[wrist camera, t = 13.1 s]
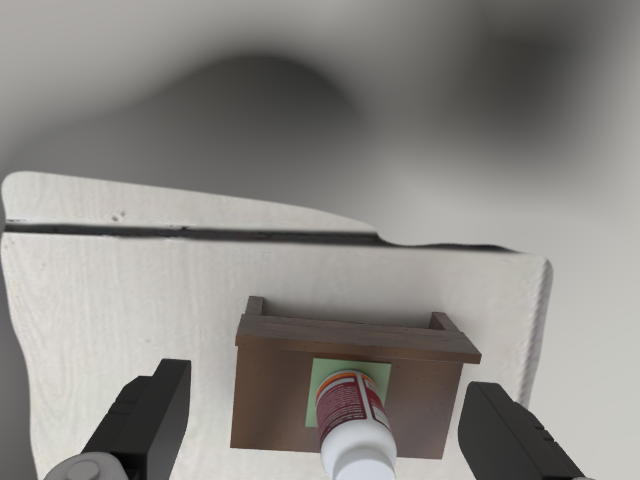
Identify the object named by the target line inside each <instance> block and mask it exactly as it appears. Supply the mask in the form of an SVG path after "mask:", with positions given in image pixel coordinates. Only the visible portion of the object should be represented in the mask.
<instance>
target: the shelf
mask: <svg viewBox="0 0 640 480" xmlns="http://www.w3.org/2000/svg"><path fill="white" fill-rule="evenodd" d="M262 307H263V297H253V296H249V299H248V303H247V307H246V311H245V314H242V315H241V319H240V323H239V326H238V330H237V334H236V341H235V346H238V354H237V366H236V379H235V392H234V405H233V418H232V431H231V443H230V448H240V449H258V450H277V451H295V452H313V453H320V444H319V434H318V425H317V415H316V404H315V403H316V402H315V398H316V392H317V390H318V387H319V386H320V384H321V383H322V381H323V380H324V379H325V378H327V377H328V376H329V375H331V374H333V373H335V372H338V371H343V370H354V371H358V372H361V373H363V374H365V375H367V376H368V377H369V378H370V379H371V380H372V381H373V382H374V384H375V386H376V388H377V390H378V393H379V396H380V399H381V402H382V405H383V408H384V411H385V414H386V417H387V420H388V423H389V426H390V429H391V432H392V435H393V438H394V441H395V444H396V450H397V456H396V457H404V458H423V459H442V456H443V452H444V447H445V443H446V438H447V434H448V429H449V425H450V420H451V416H452V411H453V407H454V402H455V398H456V394H457V389H458V385H459V380H460V376H461V371H462V367H463V363H468V364H480V360H481V356H482V354H481V353H480V352H479V351H478V350H477V348H476V347H475V346H474V345H473V344H472V342H471V341H470V340H469V339H468V337H467V336H466V335H465V334H464V333H463V332H460V331H459V330H458V328H457V327H456V326H455V325H454V324H453V322H452V321H451V320H450V319H449V317H448V316H447V315H446V314H445V313H438V312H432V316H431V321H430V326H429V329H421V328H409V327H397V326H385V325H373V324H360V323H348V322H336V321H324V320H312V319H300V318H288V317H275V316H263V315H262Z"/></svg>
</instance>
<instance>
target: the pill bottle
mask: <svg viewBox="0 0 640 480" xmlns="http://www.w3.org/2000/svg"><path fill="white" fill-rule="evenodd" d="M315 402H316V403H315V404H316V415H317V425H318V434H319V444H320V455H321V462H322V466H323V469H324V471H325V473H326V475H327V476H328V477H329V478H330V480H396V476H395V472H394V465H395V462H396V456H397V450H396V444H395V441H394V438H393V435H392V432H391V429H390V426H389V423H388V420H387V417H386V414H385V411H384V408H383V405H382V402H381V399H380V396H379V393H378V390H377V388H376V386H375V384H374V382H373V381H372V380H371V379H370V378H369V377H368V376H367V375H365V374H363V373H361V372H358V371H354V370H343V371H338V372H335V373H333V374H331V375H329V376H328V377H327V378H325V379H324V380H323V381H322V383H321V384H320V386H319V387H318V390H317V392H316V398H315Z"/></svg>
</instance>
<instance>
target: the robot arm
mask: <svg viewBox="0 0 640 480" xmlns="http://www.w3.org/2000/svg"><path fill="white" fill-rule="evenodd" d="M190 386H191V361H190V360H179V359H165V358H163V359H162V360H161V362H160V364H159V365H158V367H157V369H156V371H155V373H154V374H153V376H138V377H137V378H135V379H134V380H133V381H131V382H130V383H128V384H127V385H125V386H124V387H123V389H122V390H121V392H120V394H119V395H118V397H117V398H116V400H115V402H114V403H113V404H112V406H111V407H110V409H109V410H108V414H106V415H105V417H104V418H103V420H102V421H101V423H100V424H99V426H98V427H97V429H96V430H95V432H94V433H93V435H92V437H91V438H90V440H89V441H88V443H87V444H86V446H85V447H84V449H83V450H82V452H81V453H80V454H78V455H75V456H73V457H70V458H68V459H66V460H64V461H62V462H61V463H59V464H58V465H56V466H55V467H54V468H53V469H52V470H51V471H50V472H49V473H48V474H47V475H46V477H45V478H44V480H169V477H170V474H171V471H172V469H173V466H174V463H175V460H176V457H177V454H178V452H179V449H180V446H181V443H182V440H183V437H184V435H185V431H186V427H187V423H188V417H189V406H190ZM458 442H459V446H460V449H461V451H462V453H463V455H464V457H465V459H466V461H467V463H468V465H469V467H470V469H471V471H472V472H473V474H474V476H475V478H476V480H594V479H591V478H586V477H585V476H584V474H583V473H582V472H581V471H580V469H579V468H578V467H577V466H576V465H575V463H574V462H573V461H572V460H571V459H570V458H569V456H568V455H567V454H566V453H565V451H564V450H563V449H562V448H561V447H560V446H559V444H558V443H557V442H554V439H553V437H552V436H551V435H550V434H549V432H548V431H547V430H544V426H543V425H542V424H541V423H540V422H539V421H538V419H537V418H536V417H535V416H534V415H533V414H532V413H531V412H529V411H528V410H527V409H525V408H524V407H523V406H521V405H520V404H519V403H517V402H513V400H512V399H511V398H510V397H509V395H508V394H507V393H506V392H505V390H504V389H503V388H502V387H501V386H500V385H499V384H498V383H488V382H474V381H472V382H470V383H469V385H468V387H467V391H466V395H465V399H464V404H463V408H462V412H461V417H460V421H459V426H458Z"/></svg>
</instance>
